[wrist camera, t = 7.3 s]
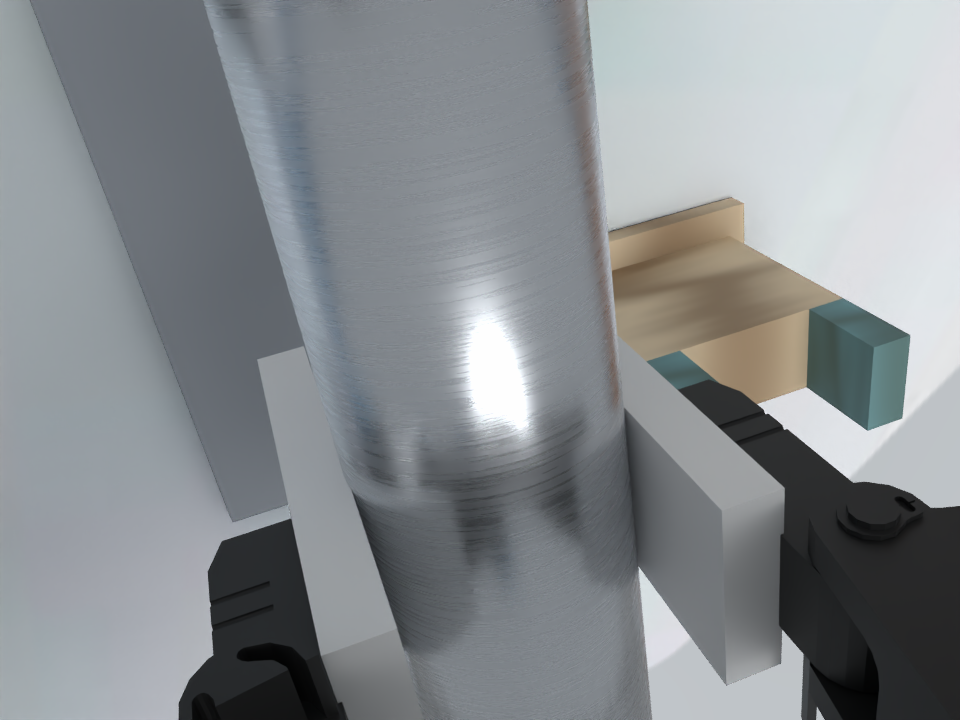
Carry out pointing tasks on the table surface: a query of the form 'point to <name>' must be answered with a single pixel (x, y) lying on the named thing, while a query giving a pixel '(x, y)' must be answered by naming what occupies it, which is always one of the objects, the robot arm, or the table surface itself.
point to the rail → (459, 329)
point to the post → (748, 318)
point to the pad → (185, 216)
